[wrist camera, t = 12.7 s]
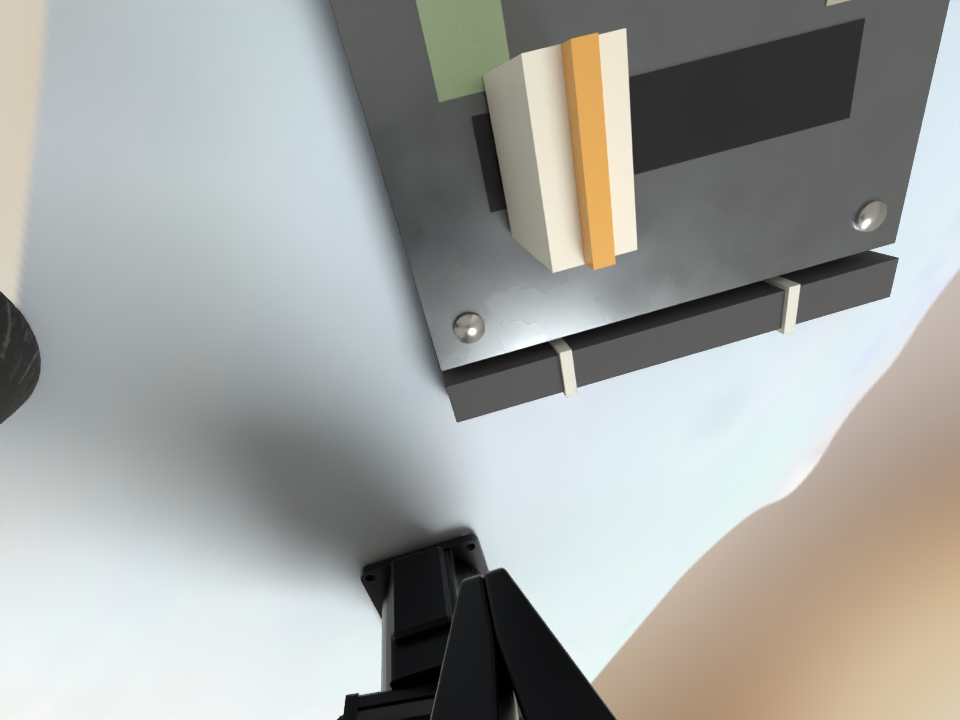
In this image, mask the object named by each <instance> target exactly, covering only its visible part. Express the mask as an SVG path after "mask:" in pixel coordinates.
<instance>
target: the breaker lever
mask: <svg viewBox="0 0 960 720" xmlns="http://www.w3.org/2000/svg"><path fill="white" fill-rule="evenodd" d="M483 80H484V85H485V91H486V96H487V102H488V107H489V113H490V118H491V123H492V129H493V134H494V140H495V145H496V151H497V156H498V162H499V167H500V173H501V178H502V184H503V189H504V195H505V200H506V205H507V211H508V216H509V222H510V227H511V233H512V238H513V239H514V240H515V241H517V242H518V243H519V244H520V245H521V246H522V247H524V248H525V249H526V250H527V251H528V252H529V253H530V254H532V255H533V256H534V257H535V258H536V259H537V260H539V261H540V262H541V263H542V264H543V265H544V266H546V267H547V268H548V269H549V270H550V271H551V272H552V273H555V272H558V271H562V270H566V269H569V268H573V267H577V266H580V265H584V264H585V265H587V266H588V267H590V268H591V269H593V270H596V269H600V268H604V267H607V266H611V265H615V264H616V261H615V256H617V255H620V254H624V253H627V252H631V251H635V250H637V233H636V213H635V193H634V173H633V154H632V134H631V114H630V95H629V75H628V55H627V35H626V28H624V29H620V30H616V31H612V32H608V33H603V34H599V35H598V32H597V33H593V34H589V35H585V36H581V37H577V38H573V39H570V40H568V41H566V42H564V43H562V44H558V45H554V46H550V47H546V48H542V49H538V50H534V51H530V52H526V53H522V54H520V55H518V56H516V57H514V58H513V59H511V60H509V61H507V62H506V63H504V64H502V65H500V66H499V67H497V68H495V69H493V70H492V71H490V72H488V73H486V74H485V75H483Z"/></svg>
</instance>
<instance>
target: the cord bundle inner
mask: <svg viewBox="0 0 960 720" xmlns="http://www.w3.org/2000/svg"><path fill="white" fill-rule="evenodd" d="M898 259H899V258H897V257H893V256H889V255H885V254H881V253H877V252H873V251H869V250H867V251H864V252H860V253H857V254H853V255H850V256H846V257H843V258H839V259H836V260H832V261H829V262H825V263H822V264H818V265H815V266H811V267H807V268H804V269H800V270H797V271H793V272H790V273H786V274H783V275H779V276H776V277H772V278H769V279H765V280H762V281H758V282H755V283H751V284H748V285H744V286H740V287H737V288H733V289H730V290H726V291H723V292H719V293H716V294H712V295H709V296H705V297H702V298H698V299H695V300H691V301H688V302H684V303H681V304H677V305H673V306H670V307H666V308H663V309H659V310H656V311H652V312H649V313H645V314H642V315H638V316H635V317H631V318H628V319H624V320H621V321H617V322H613V323H610V324H606V325H603V326H599V327H596V328H592V329H589V330H585V331H582V332H578V333H575V334H571V335H568V336H564V337H561V338H557V339H554V340H550V341H546V342H543V343H539V344H536V345H532V346H529V347H525V348H522V349H518V350H515V351H511V352H508V353H504V354H501V355H497V356H494V357H490V358H487V359H483V360H479V361H476V362H472V363H469V364H465V365H462V366H458V367H455V368H451V369H448V370H444V371H443V375H444V380H445V384H446V388H447V392H448V395H449V398H450V402H451V405H452V408H453V411H454V415H455V418H456V421H457V422H461V421H464V420H468V419H471V418H475V417H478V416H482V415H485V414H488V413H492V412H495V411H499V410H502V409H506V408H509V407H512V406H516V405H519V404H523V403H526V402H530V401H533V400H537V399H540V398H543V397H547V396H550V395H554V394H557V393H561V392H563V393H564V395H565V396H566V398H567V397H571V396H574V395H577V394H578V393H577V388H578V387H581V386H585V385H588V384H592V383H595V382H598V381H602V380H605V379H609V378H612V377H616V376H619V375H623V374H626V373H629V372H633V371H636V370H640V369H643V368H647V367H650V366H653V365H657V364H660V363H664V362H667V361H671V360H674V359H678V358H681V357H684V356H688V355H691V354H695V353H698V352H702V351H705V350H708V349H712V348H715V347H719V346H722V345H726V344H729V343H733V342H736V341H739V340H743V339H746V338H750V337H753V336H757V335H760V334H763V333H767V332H770V331H774V330H777V331H779V332H781V333H783V334H786V333H790V332H793V331H795V324H798V323H801V322H805V321H808V320H812V319H815V318H819V317H822V316H825V315H829V314H832V313H836V312H839V311H843V310H846V309H849V308H853V307H856V306H860V305H863V304H867V303H870V302H874V301H877V300H880V299H884V298H887V297H890V293H891V289H892V285H893V281H894V276H895V272H896V268H897V263H898Z"/></svg>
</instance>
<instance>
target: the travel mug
mask: <svg viewBox="0 0 960 720" xmlns="http://www.w3.org/2000/svg"><path fill="white" fill-rule="evenodd" d="M40 361H41V360H40V353H39V348H38V345H37V342H36V339H35V336H34V334H33V332H32V330H31V328H30V326H29V324H28V323H27V322H26V320H25V319H24V317H23V316H22V314H21V313H20V312H19V310H18V309H17V308H16V307H15V306H14V304H13V303H12V302H11V301H10V300H9V299H8V298H7V297H6V296H5V295H4V294H3V293H1V292H0V424H1V423H2V422H4V421H5V420H6V419H7V418H8V417H9V416H11V415H12V414H13V413H14V412H15V411H16V410H17V409H18V408H19V407H20V406H21V405H22V404H23V403H24V402H25V401H26V400H27V399H28V398H29V396H30V395H31V394H32V392H33V390H34V389H35V386H36V384H37V382H38V379H39V374H40Z"/></svg>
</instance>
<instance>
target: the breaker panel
mask: <svg viewBox="0 0 960 720" xmlns="http://www.w3.org/2000/svg"><path fill="white" fill-rule="evenodd" d="M949 1H950V0H330V2H331V6H332V9H333V12H334V16H335V19H336V22H337V25H338V29H339V32H340V35H341V39H342V42H343V45H344V49H345V52H346V55H347V59H348V62H349V65H350V69H351V72H352V75H353V79H354V82H355V85H356V89H357V92H358V95H359V99H360V102H361V105H362V108H363V112H364V115H365V118H366V122H367V125H368V128H369V132H370V135H371V138H372V142H373V145H374V148H375V152H376V155H377V158H378V162H379V165H380V168H381V172H382V175H383V178H384V182H385V185H386V188H387V191H388V195H389V198H390V201H391V205H392V208H393V211H394V215H395V218H396V221H397V225H398V228H399V231H400V235H401V238H402V241H403V245H404V248H405V251H406V255H407V258H408V261H409V265H410V268H411V271H412V274H413V278H414V281H415V284H416V288H417V291H418V294H419V298H420V301H421V304H422V308H423V311H424V314H425V318H426V321H427V324H428V328H429V331H430V334H431V338H432V341H433V344H434V348H435V351H436V354H437V357H438V361H439V364H440V367H441V371H444V370H448V369H451V368H455V367H458V366H462V365H465V364H469V363H472V362H476V361H479V360H483V359H487V358H490V357H494V356H497V355H501V354H504V353H508V352H511V351H515V350H518V349H522V348H525V347H529V346H532V345H536V344H539V343H543V342H546V341H550V340H554V339H557V338H561V337H564V336H568V335H571V334H575V333H578V332H582V331H585V330H589V329H592V328H596V327H599V326H603V325H606V324H610V323H613V322H617V321H621V320H624V319H628V318H631V317H635V316H638V315H642V314H645V313H649V312H652V311H656V310H659V309H663V308H666V307H670V306H673V305H677V304H681V303H684V302H688V301H691V300H695V299H698V298H702V297H705V296H709V295H712V294H716V293H719V292H723V291H726V290H730V289H733V288H737V287H740V286H744V285H748V284H751V283H755V282H758V281H762V280H765V279H769V278H772V277H776V276H779V275H783V274H786V273H790V272H793V271H797V270H800V269H804V268H807V267H811V266H815V265H818V264H822V263H825V262H829V261H832V260H836V259H839V258H843V257H846V256H850V255H853V254H857V253H860V252H864V251H867V250H871V249H875V248H878V247H882V246H885V245H889V244H892V243H895V240H896V236H897V232H898V227H899V223H900V218H901V214H902V209H903V205H904V201H905V196H906V192H907V187H908V183H909V178H910V174H911V169H912V165H913V161H914V156H915V152H916V147H917V143H918V138H919V134H920V130H921V125H922V121H923V116H924V112H925V107H926V103H927V98H928V94H929V90H930V85H931V81H932V76H933V72H934V67H935V63H936V59H937V54H938V50H939V45H940V41H941V36H942V32H943V27H944V23H945V19H946V14H947V10H948V5H949ZM624 28H626V35H627V55H628V75H629V95H630V114H631V134H632V154H633V173H634V193H635V213H636V233H637V250H635V251H631V252H627V253H624V254H620V255H617V256H615V261H616V264H615V265H611V266H607V267H604V268H600V269H596V270H593V269H591V268H590V267H588V266H587V265H585V264H584V265H580V266H577V267H573V268H569V269H566V270H562V271H558V272H555V273H552V272H551V271H550V270H549V269H548V268H547V267H546V266H544V265H543V264H542V263H541V262H540V261H539V260H537V259H536V258H535V257H534V256H533V255H532V254H530V253H529V252H528V251H527V250H526V249H525V248H524V247H522V246H521V245H520V244H519V243H518V242H517V241H515V240H514V239H513V238H512V233H511V227H510V222H509V216H508V211H507V205H506V200H505V195H504V189H503V184H502V178H501V173H500V167H499V162H498V156H497V151H496V145H495V140H494V134H493V129H492V123H491V118H490V113H489V107H488V102H487V96H486V91H485V85H484V80H483V75H485V74H486V73H488V72H490V71H492V70H493V69H495V68H497V67H499V66H500V65H502V64H504V63H506V62H507V61H509V60H511V59H513V58H514V57H516V56H518V55H520V54H522V53H526V52H530V51H534V50H538V49H542V48H546V47H550V46H554V45H558V44H562V43H564V42H566V41H568V40H570V39H573V38H577V37H581V36H585V35H589V34H593V33H597V32H598V35H599V34H603V33H608V32H612V31H616V30H620V29H624Z"/></svg>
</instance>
